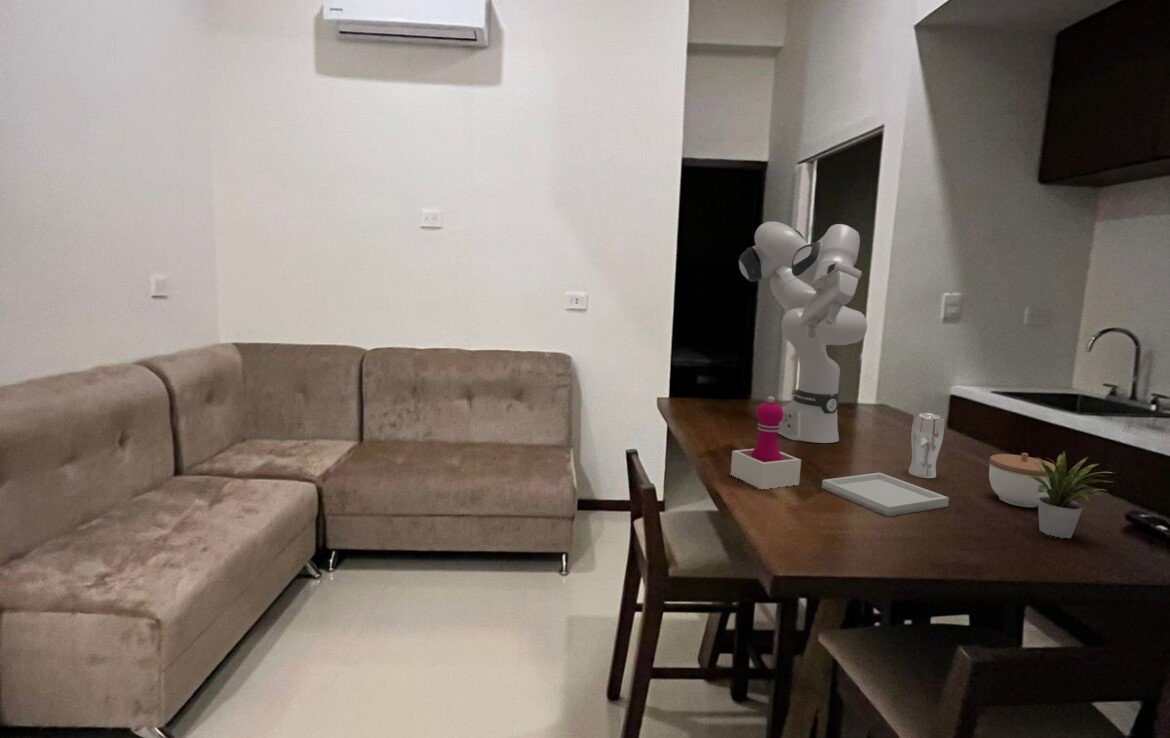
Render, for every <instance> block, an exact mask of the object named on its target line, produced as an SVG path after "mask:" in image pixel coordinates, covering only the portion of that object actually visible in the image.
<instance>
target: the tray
mask: <svg viewBox="0 0 1170 738" xmlns="http://www.w3.org/2000/svg"><path fill="white" fill-rule="evenodd" d="M821 481H822V483H821V489H822V490H824V489H825V490H824V491H827V492H829V493H832V494H834V495H837V496H838V497H841V498H843V499H846V500H848V501H850V502H853V503H855V504H857V505H859V506H862V507H864V508H867V509H869V510H871V511H873V512H876V513H878V514H880V515H883V516H885V517H888V518H889V517H894V516H895V517H896V516H899V515H906V514H913V513H918V512H922V511H923V512H925V511H930V510H935V509H942V508H947V507H948V506H949V500H950V497H949V496H945V495H942V494H941V493H937V492H935V491H931V490H929V489H926V488H923V487H921V486H917V485H915V484H913V483H909V482H906V481H904V480H902V479H898V478H896V477H893V476H890V475H888V474H885V473H882V472H874V473H865V474H860V475H859V474H857V475H849V476H841V477H836V478H835V477H834V478H828V479H826V478H825V479H822V480H821Z"/></svg>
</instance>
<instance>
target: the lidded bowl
mask: <svg viewBox="0 0 1170 738" xmlns="http://www.w3.org/2000/svg"><path fill="white" fill-rule="evenodd" d="M1042 460H1043V459H1042ZM1043 461H1044V462H1045V464H1046V465H1048V466H1049V467H1050V468H1051V469H1052V471H1053V473H1054V472H1055V465H1054V464H1053V462H1052V463H1051V462H1050V461H1046V460H1045V459H1044V460H1043ZM1034 462H1035V463H1036V464H1037V465H1038V466H1039V467H1040V468H1041V469H1040V468H1039V467H1038V466H1037V465H1036V464H1035V463H1034ZM1040 463H1041V462H1040V461H1039V459H1038V458H1037V457H1030V456H1029V453H1027V452H1021V454H1020V455H1018V454H1010V453H998V454H997V453H996V454H992V455H991V456H990V457H989V469H988V478H989V483H990V486H991V488H992V490H993V491H994V493H995V494H996V495H997V496H998V499H999V500H1000V501H1001V500H1002V502H1003V501H1004V503H1006V504H1009V505H1012V506H1017V507H1024V508H1037V507H1038V498H1039V497H1043V496H1048V497H1049V495H1048V493H1047V492H1038V488H1039V485H1042V484H1041V483H1040V482H1038V481H1037V480H1035V479H1033V478H1031V477H1028V476H1027V475H1035V476H1037V477H1039V478H1041V479H1042V480H1043V481H1044V482H1045V483H1046V484H1047V485H1048V487H1049V488H1050V489H1051V487H1050V485H1051V484H1050V485H1049V482H1050V481H1049V482H1048V480H1049V478H1048V475H1047V473H1046V471H1045V469H1044V468H1043V466H1042V464H1040ZM1041 470H1042V471H1043V472H1044V473H1045V475H1046V476H1047V478H1048V480H1047V478H1046V476H1045V475H1044V474H1043V472H1042V471H1041ZM1042 486H1043V485H1042ZM1039 490H1044V491H1047V490H1046V489H1039ZM1037 492H1038V493H1037Z"/></svg>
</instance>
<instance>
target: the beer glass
mask: <svg viewBox="0 0 1170 738" xmlns="http://www.w3.org/2000/svg"><path fill="white" fill-rule="evenodd" d="M911 426H912V427H911V433H910V436H911V439H910V441H911V442H910V443H911V456H912V457H911V463H910V466H909V469H908V474H910V475H911V476H914V477H917V478H921V479H935V478H936V477H937V469H936V465H937V459H938V456H939V453H940V449H941V446H942V444H943V440H944V434H945V433H944V432H945V417H944V416H943V415H939V414H934V413H928V412H916V413H914V416H913V421H912V425H911Z"/></svg>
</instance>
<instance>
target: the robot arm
mask: <svg viewBox="0 0 1170 738" xmlns="http://www.w3.org/2000/svg"><path fill="white" fill-rule="evenodd" d="M754 242H755V243H754V244H755V245H754V246H751V247H747V248H746V250H745V251H743V252H742V253H741V255H740V256H739V258H738V266H739V270H740V272H741V274H742V276H744V277H745V278H746V280H747V281H749V282H756V281H761V280H763V279H764V278H767V277H769V276H771V277H770V280H769V282H770V283H769V286H770V289H771V292H772V294H773V296H774V298H775V299H776V301H777V302H778V304H779V305H780V306H781V307H782V308H783V309H784V311H785V314H784V316H782V317H783V318H782V320H781V325H780V326H781V332H782V335H783V337H784V338H785V340H786V341H787V342H788V343H790V344H791V345H792V347H793V349H794V351H795V352H796V354H797V358H798V362H799V377H798V378H799V379H798V388H797V389H793V390H791V393H790V394H791V395H794V396H793V398H792V399H793V400H791V401H790V402H788V403H786V404H785V405H784V406H781V408H782V410H783V419H782V420H781V421H780V422H779V425H780V427H779V429H780V431H778V434H777V435H779V434H780V435H779V436H781V435H782V436H781V437H783V436H784V438H785V437H786V439H787V438H788V440H790V439H791V441H801V442H806V443H818V444H830V443H831V444H832V443H836V442H840V437H839V429H838V410H837V409H838V406H839V400H840V393H839V383H840V375H841V369H840V366H839V364H838V363H837V362H836V361H835V360H834V359H832V358H831V357H830V356H829V355H828V353H827V346H847V345H852V344H854V343H855V344H856V343H860V342H861V341H862V340H863V339H864V337H865V335H866V333H867V329H868V323H867V322H868V321H867V319H866V316H865V315H864V314H863V312H861V311H858V310H857V309H853V308H850V307H847V306H846V305H847V304H848V303H850V302H851V301H852V299H853V298H854V296H855V294H856V290H857V288H858V285H859V280H860V279H861V276H862V270H859V269H858V268H856V267H854V266H855V265H856V263H857V259H858V255H859V250H860V244H861V238H860V233H859V232H858V231H857V230H856V229H855V228H854V227H852V226H849V225H847V224H843V223H839V224H838V223H837V224H833V225H831V226H830V227H829V228H828V229H827V231H826V232H825V234H824V235H823V236H822V237H821V238H820V239H819V240H817V241H815V242H812V243H810V244H809V243H808V242H807V241H806V238H805V237H804V235H803V234H802V233H801V232H800V231H799V230H797V229H795V228H792V227H791V226H790V225H787V224H785V223H783V222H780V221H771V220H770V221H766V222H764V223H762V224H760V225H759V226H758V227H757V229H756V231H755V233H754Z"/></svg>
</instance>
